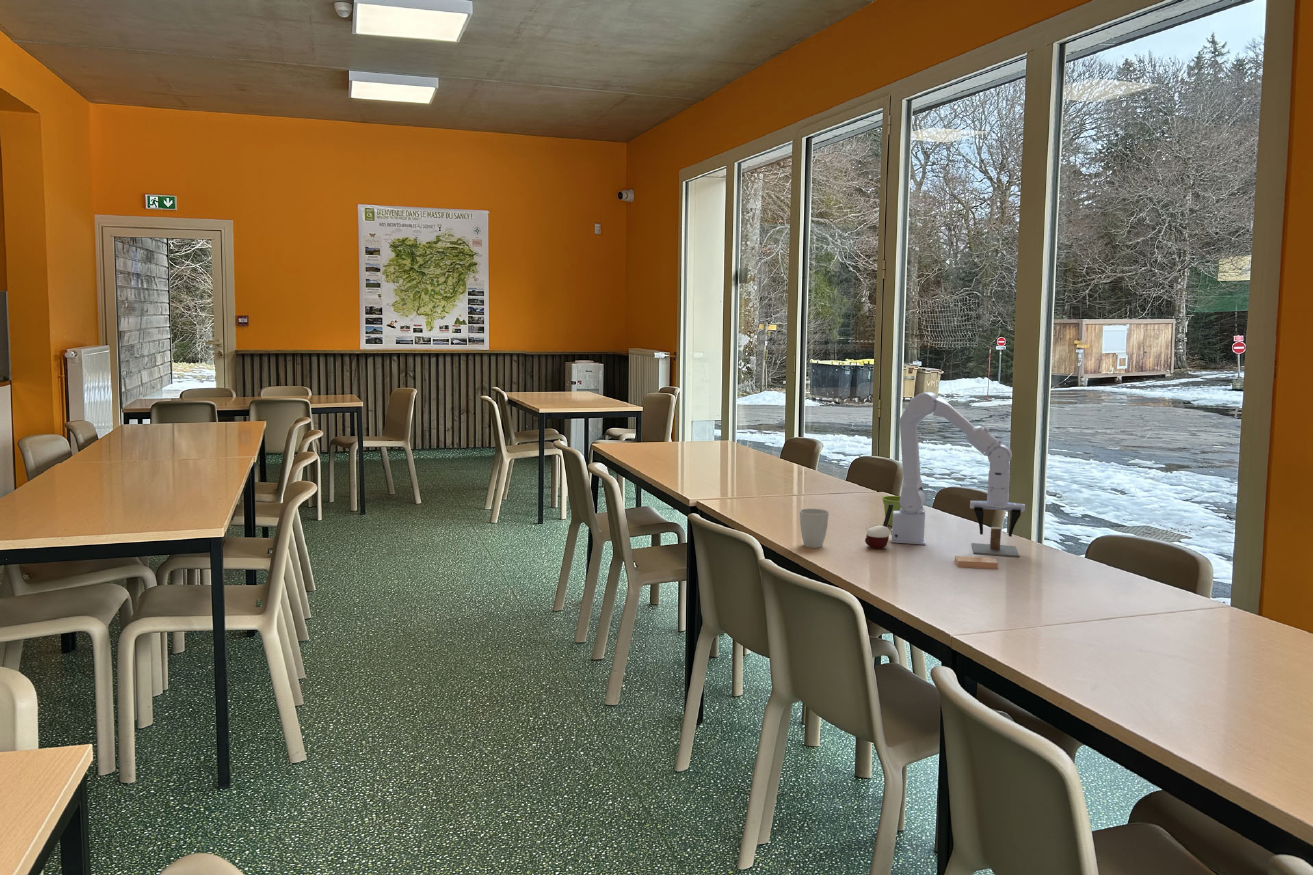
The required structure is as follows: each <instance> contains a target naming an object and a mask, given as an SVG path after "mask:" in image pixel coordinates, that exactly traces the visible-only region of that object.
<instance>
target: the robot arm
mask: <svg viewBox="0 0 1313 875" xmlns="http://www.w3.org/2000/svg"><path fill="white" fill-rule="evenodd" d="M930 414H932V416H935V417H940V418H944V419H945V420H947V421H948V422H950V423H951V424H952V425H953V426H955V427H956V428H957V429H959V431H962V432H963V434H965V435H966V440H967V443H969V444H970V445H971V446H972V447H974V448H975V449H976V450H977V451H978V452H980V453H981V454H982V455H983V456H986V457H987V460H988V462H989V470H988V476H987V477H988V478H987V492H986V493H987V496H986V500H970V503H969V509H973V511H974V514H975V516H976V519H977V522H978V526H979V534H980V535H981V536H982V535H983V534H984V515H985V514H984V510H994V511H995V510H997V511H1009V525H1008V534H1007V535H1008V537H1013V532H1014V529H1015V526H1016V525H1017V522H1018V521H1019V519H1020V518H1021V515H1022V513H1025V511H1026V504H1025V503H1017V502H1009V498H1010V497H1009V496H1010V482H1011V471H1010V470H1011V463H1010V462H1011V460H1012V459H1013V458H1012V457H1013V452H1012V449H1011V448H1010V446H1008V444H1005V443H1003V440H1001V439H997V438H996V437H995V436H994V435H992V433H990V432H989V431H990V429H989V428H988V427H983V426H982V425H978V426H977V425H976V426H975V425H974V424H973V423H972V422H970V421H969V420H968V419H967V418H965V416H963V415H962V413H961V412H959V411H958V410H957V409H956V408H955V407H953V405H951V404H950V403H949V402H947V401H946V399H944V398H941V396H940V397H939V396H938V395H937V393H935V392H932V391H924V392H922V393H918V394H916V395H915V396H914V397H913V398H911V399H910V400H909V401H908V404H907V406H906V408H905V409H904V411H903V413H902V414H901V417H900V418H899V434H900V436H899V437H900V449H901V450H900V451H901V464H902V465H901V466H902V477H903V479H902V484H901V485H902V486H901V495H900V496H901V497H900V500H899V503H900V506H901V508H900V511H893V522H892V526H891V529H890V536H891V543H897V544H899V543H900V544H909V545H910V544H912V545H926V537H925V528H926V527H925V526H926V523H925V522H926V509H925V508H924V505H925V504H926V502H927V498H928V497H927V493H926V491H925V489H924V486H923V485H924V484H923V481H922V478H921V477H922V475H921V464H920V450H919V448H920V447H919V446H920V445H919V433H918V432H919V430H918V425H919V423H921V422H922V421H923V419H925V417H927V416H928V415H930Z"/></svg>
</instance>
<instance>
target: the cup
mask: <svg viewBox="0 0 1313 875" xmlns="http://www.w3.org/2000/svg"><path fill="white" fill-rule="evenodd" d="M829 515H830V514H829V511H828V510H826V509H821V508H803V509H800V510H799V518H800V519H799V524H800V526H799V527H800V533H801V538H802V542H803V546H804V547H806V548H813V549H815V548H823V545H824V542H825V538H826V535H827V530H828V525H829V523H828V522H829Z"/></svg>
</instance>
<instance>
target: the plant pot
mask: <svg viewBox="0 0 1313 875" xmlns="http://www.w3.org/2000/svg"><path fill="white" fill-rule="evenodd" d="M900 497H901V495H886V496H885V495H884V496H882V497H881V499H882V502H883V507H884V510H883V511H884V518H885V517H886V513H887V510H888V507H889V504H893V508H892V512H891V515H890V518H889V522H888V525H887V526H891V527H892V522H893V511H900V508H901V506H900V503H899V500H900Z"/></svg>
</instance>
